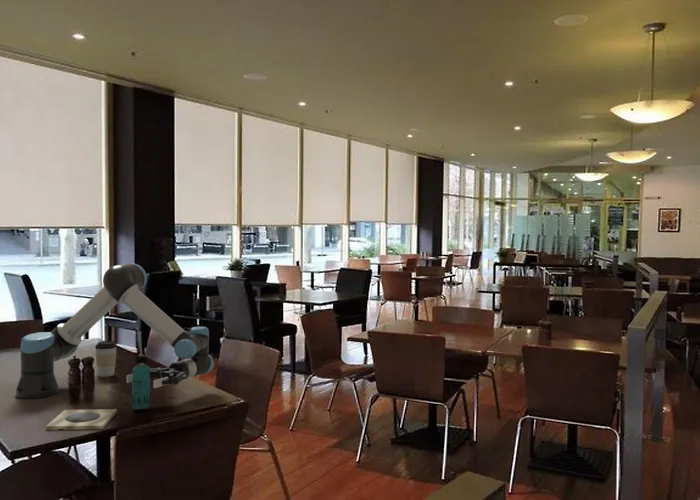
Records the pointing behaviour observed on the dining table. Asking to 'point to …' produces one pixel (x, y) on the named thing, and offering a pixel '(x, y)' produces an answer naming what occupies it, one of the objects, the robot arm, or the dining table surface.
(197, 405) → the dining table surface
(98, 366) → the coffee cup
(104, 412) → the birch board
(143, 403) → the beverage bottle
